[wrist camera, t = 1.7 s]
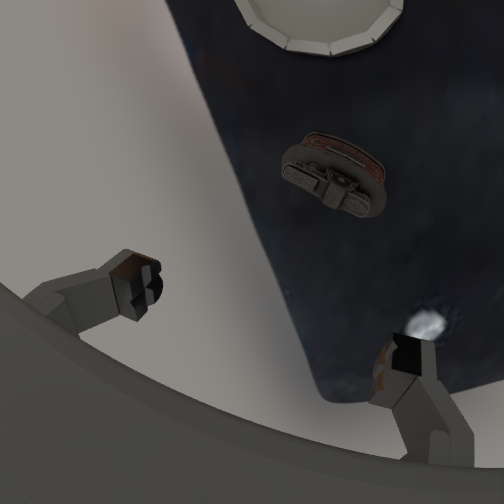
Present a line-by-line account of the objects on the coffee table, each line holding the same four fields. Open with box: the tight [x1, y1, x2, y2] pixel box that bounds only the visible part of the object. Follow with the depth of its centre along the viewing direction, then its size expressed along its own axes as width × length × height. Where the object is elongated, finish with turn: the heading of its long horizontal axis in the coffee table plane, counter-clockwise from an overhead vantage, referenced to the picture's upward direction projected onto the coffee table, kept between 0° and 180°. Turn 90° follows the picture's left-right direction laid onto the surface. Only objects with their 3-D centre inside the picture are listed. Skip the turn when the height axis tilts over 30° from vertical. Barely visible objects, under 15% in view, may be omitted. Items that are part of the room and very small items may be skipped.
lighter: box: [281, 131, 387, 218], centre depth 23 cm, size 8×3×10 cm, turn 71°
